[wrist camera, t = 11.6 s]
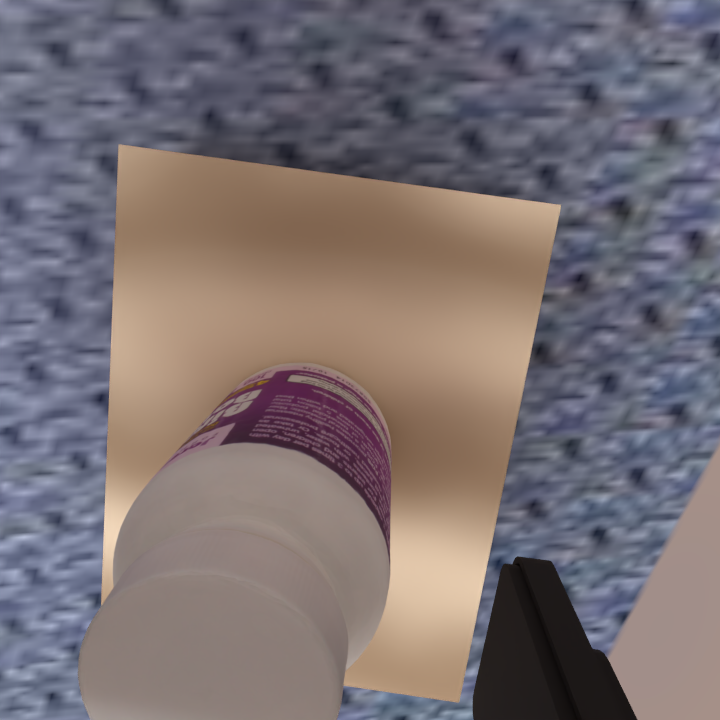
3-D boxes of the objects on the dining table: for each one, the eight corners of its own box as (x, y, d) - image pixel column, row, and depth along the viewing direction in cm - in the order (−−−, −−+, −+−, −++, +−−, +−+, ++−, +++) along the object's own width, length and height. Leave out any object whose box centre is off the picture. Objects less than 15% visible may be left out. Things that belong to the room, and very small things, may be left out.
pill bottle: (247, 329, 18) (83, 465, 8) (419, 398, 18) (448, 607, 8) (189, 489, 19) (-10, 764, 10) (350, 552, 19) (310, 880, 10)
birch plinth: (170, 157, 20) (118, 144, 17) (528, 206, 20) (561, 205, 16) (145, 579, 24) (99, 649, 20) (447, 623, 24) (458, 702, 20)
